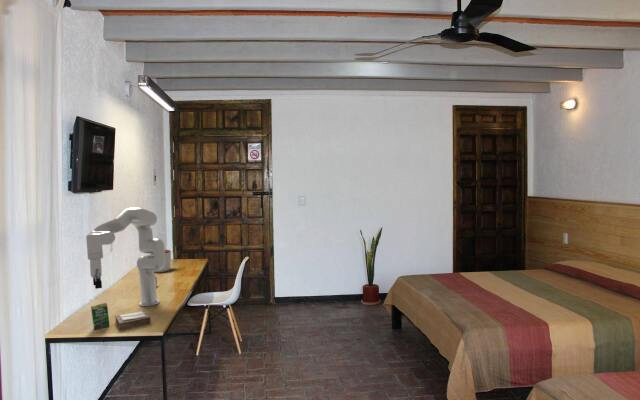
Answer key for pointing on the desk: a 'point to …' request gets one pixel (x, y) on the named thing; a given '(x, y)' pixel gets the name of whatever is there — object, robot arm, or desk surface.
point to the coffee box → (100, 316)
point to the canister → (167, 261)
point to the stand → (132, 320)
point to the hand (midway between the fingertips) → (97, 286)
